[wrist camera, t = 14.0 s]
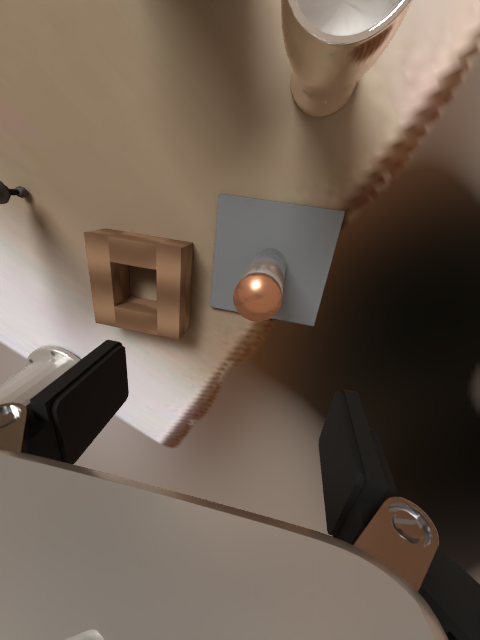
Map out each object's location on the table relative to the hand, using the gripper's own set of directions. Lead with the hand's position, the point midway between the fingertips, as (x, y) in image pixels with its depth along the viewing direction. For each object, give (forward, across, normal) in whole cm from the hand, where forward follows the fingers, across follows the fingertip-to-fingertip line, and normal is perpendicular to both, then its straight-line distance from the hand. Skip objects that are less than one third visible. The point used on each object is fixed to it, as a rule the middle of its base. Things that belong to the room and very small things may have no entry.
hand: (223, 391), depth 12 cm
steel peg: (+24, 0, 0) cm, 24 cm away
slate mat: (+24, 0, 0) cm, 24 cm away
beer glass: (+24, -2, -18) cm, 30 cm away
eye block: (+24, +16, +5) cm, 29 cm away
